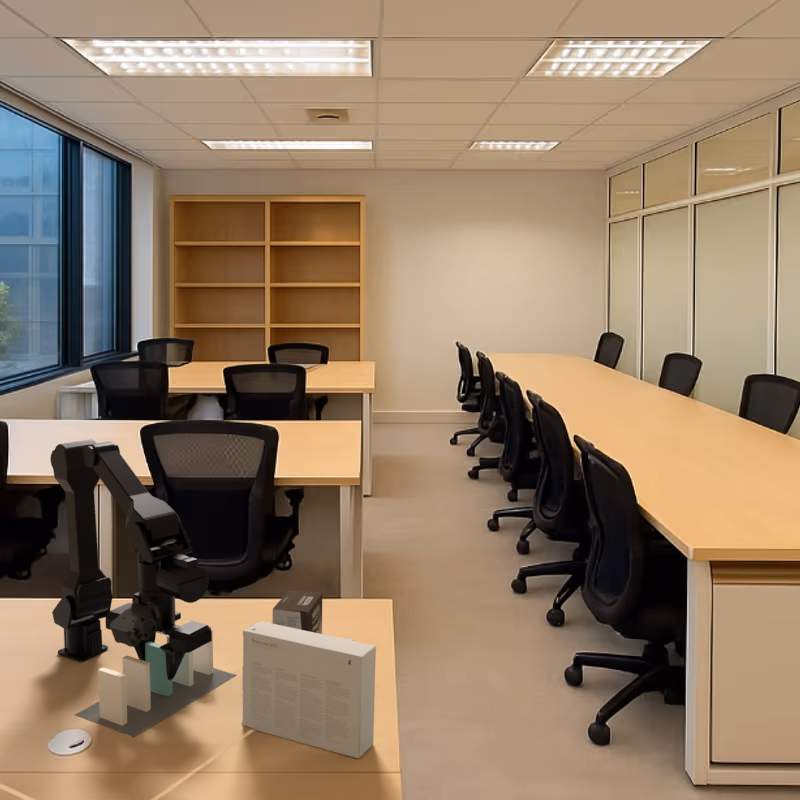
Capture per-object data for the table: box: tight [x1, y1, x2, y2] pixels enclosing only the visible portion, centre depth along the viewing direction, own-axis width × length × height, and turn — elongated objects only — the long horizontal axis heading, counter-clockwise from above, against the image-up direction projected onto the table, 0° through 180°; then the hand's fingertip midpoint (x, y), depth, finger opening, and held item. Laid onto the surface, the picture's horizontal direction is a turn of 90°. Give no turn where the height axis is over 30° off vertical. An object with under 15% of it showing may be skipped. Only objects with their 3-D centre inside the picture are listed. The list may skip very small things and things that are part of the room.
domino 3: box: [166, 635, 194, 687], centre depth 152 cm, size 5×1×8 cm, turn 61°
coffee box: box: [272, 590, 324, 634], centre depth 150 cm, size 9×6×16 cm
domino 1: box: [97, 667, 127, 726], centre depth 139 cm, size 5×1×8 cm, turn 61°
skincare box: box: [241, 621, 377, 759], centre depth 136 cm, size 21×5×16 cm, turn 65°
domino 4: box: [193, 629, 214, 675], centre depth 156 cm, size 5×1×8 cm, turn 61°
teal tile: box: [145, 641, 173, 696], centre depth 148 cm, size 5×1×8 cm, turn 61°
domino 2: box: [121, 655, 151, 712], centre depth 144 cm, size 5×1×8 cm, turn 61°
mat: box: [74, 667, 237, 738], centre depth 149 cm, size 13×24×1 cm, turn 151°
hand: (159, 675), depth 148 cm, fingers closed on teal tile, 5 cm apart
